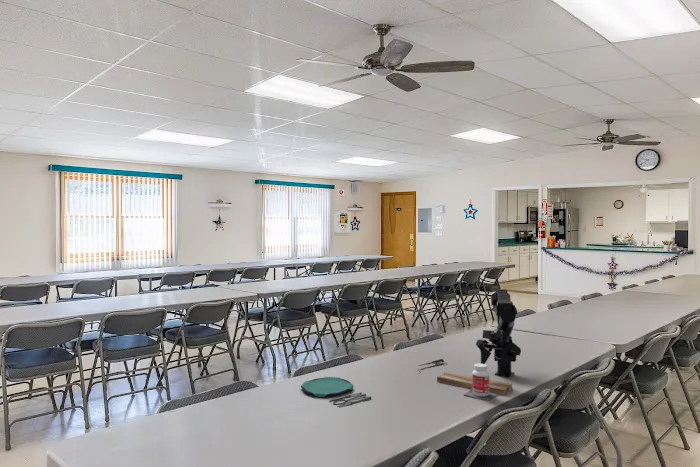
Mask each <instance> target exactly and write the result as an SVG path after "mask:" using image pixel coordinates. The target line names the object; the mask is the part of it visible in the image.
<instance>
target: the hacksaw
mask: <svg viewBox="0 0 700 467" xmlns="http://www.w3.org/2000/svg"><path fill="white" fill-rule="evenodd" d="M444 361H445V360H444V359H443V358H439V359H437V360H432V361H431V362H426V363H422V364H419V365H417V366H421V367H422V368H420V369H418V371H419V373H417V374H421V373H422V372H421V371H423V370H426V369H431V368H434V367H437V366H442V365H445V366H446V365H448V363H447V362H444ZM431 364H432V365H431ZM425 365H430V366H425ZM423 366H425V367H423Z"/></svg>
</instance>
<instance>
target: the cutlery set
mask: <svg viewBox="0 0 700 467" xmlns="http://www.w3.org/2000/svg"><path fill="white" fill-rule="evenodd" d="M300 388H302V390H303V391H304V392H305V393H307V394H309V395H312V396H313V395H314V396H315V397H317V398H319V397H321V398H325V397H326V396H328V397H329V396H336V395H337V396H338V395H340V394H344V393H346V392H347V391H350V390H351V391H353V389H354V383H351V382H350V381H349V380H347V379H345V378H341V377H338V376H336V377H335V376H324V377H318V378H314V379H311V380H306V381H304V382H303V383H301V385H300ZM352 396H353V397H352ZM350 397H351V398H350ZM361 397H363V398H361ZM347 398H348V399H347ZM357 398H361V399H358V400H354V399H357ZM352 400H354V401H352ZM369 400H372V396H371V395H370V396H367V393H362V392H361V391H360V392H357V393H352V394H347V395H346V394H345V396H340V397H336V398H332V399H329V400H328V402H329V403H331V402H332V404H334V405H336V404H337V406H336V407H337V408H343V407H349V406H351V405H353V404H358V403H361V401H362V402H364V401H369ZM338 402H340V403H338Z"/></svg>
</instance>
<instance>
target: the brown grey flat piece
mask: <svg viewBox="0 0 700 467" xmlns="http://www.w3.org/2000/svg"><path fill="white" fill-rule="evenodd" d="M436 383H441V384H445V385H449V386H450V385H451V386H456V387H460V388H461V387H462V388H467V389H470V390H469V391H467V392H465V393H464V394H463V396H464V397H468V398H472V399H478V400H481V401H482V400H483V401H487V402H490V401H491V400H493V399H494V398H496V397H497V396H498V395H500V396H505V395H506V394H508V392H510V391H511V390H513V383H510V382H505V381H504V382H503V381H500V380H499V381H498V380H494V379H489V395H488V396H484V397H482V396H476V395H474V394H473V378H472V375H468V374H462V373H456V372H451V371H446V372H444V373H442V374H440V375H438V376H437V377H436Z"/></svg>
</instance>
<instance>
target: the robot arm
mask: <svg viewBox="0 0 700 467" xmlns="http://www.w3.org/2000/svg"><path fill="white" fill-rule="evenodd" d="M490 306H492V311H493V312H494V313H495V315H496V321H497V322H496V323H497V327H496V328H495V329H493V330H487V329H486V330H485V329H483V330H482V336H481V338H482V339H477V340H476V343H475V346H477V348H478V349H479V351H480V364H485V365H486V363H487V361H488V360H489V358H490V356H491V355H492V351H493V360H494V362H496V363H497V364H496V365H497V371H496V372H495V373H494V375H495V376H499V377H504V378H511V377H513V375H515V371H514V372H513V371H512V363H516V361H517V357H518V356H521V353H522V349H521V347H519V346H518V345H517V344H516V343H515V342H513V337H512V336H511V334H512V332H513V329H514V327H515V322H516V316H517V315H518V309H517V307H516V305H514V303H513V301H511V294H509V292H508V289H496V290H495V292H493V293H491V295H490ZM487 339H488V340H487Z"/></svg>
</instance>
